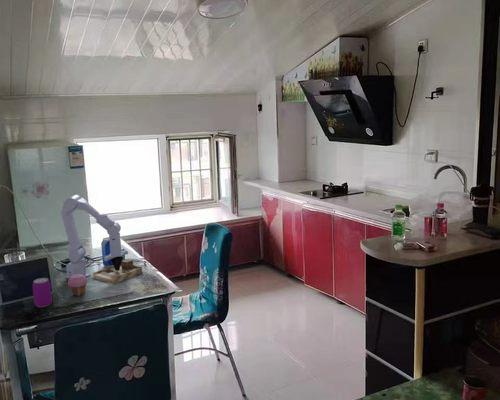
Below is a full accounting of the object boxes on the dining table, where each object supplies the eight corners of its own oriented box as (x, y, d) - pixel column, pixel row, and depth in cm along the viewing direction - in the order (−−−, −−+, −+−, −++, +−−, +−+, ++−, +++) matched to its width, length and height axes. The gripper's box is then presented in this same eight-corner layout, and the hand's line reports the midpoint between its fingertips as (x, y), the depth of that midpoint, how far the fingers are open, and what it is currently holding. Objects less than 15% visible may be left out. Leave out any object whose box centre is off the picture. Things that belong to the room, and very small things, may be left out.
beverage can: (55, 301, 237) (52, 277, 235) (48, 307, 229) (45, 283, 227) (39, 301, 237) (36, 277, 235) (31, 308, 230) (28, 283, 227)
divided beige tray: (113, 283, 258) (112, 277, 257) (93, 277, 267) (93, 271, 267) (142, 272, 273) (141, 266, 273) (122, 267, 283) (122, 261, 282)
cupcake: (79, 298, 239) (77, 278, 237) (65, 296, 243) (63, 276, 241) (92, 292, 247) (90, 272, 245) (78, 289, 251) (76, 270, 249)
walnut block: (127, 270, 272) (126, 262, 271) (121, 268, 275) (121, 260, 274) (133, 267, 276) (133, 260, 275) (128, 266, 278) (127, 258, 277)
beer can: (109, 268, 281) (107, 241, 278) (100, 266, 286) (97, 239, 283) (121, 264, 288) (119, 237, 285) (112, 262, 293) (110, 235, 290)
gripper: (109, 250, 259) (111, 275, 262) (131, 243, 270) (132, 267, 273) (100, 248, 263) (102, 273, 266) (122, 241, 274) (124, 265, 277)
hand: (117, 270), depth 270 cm, fingers closed
